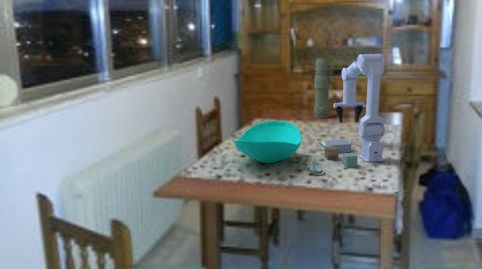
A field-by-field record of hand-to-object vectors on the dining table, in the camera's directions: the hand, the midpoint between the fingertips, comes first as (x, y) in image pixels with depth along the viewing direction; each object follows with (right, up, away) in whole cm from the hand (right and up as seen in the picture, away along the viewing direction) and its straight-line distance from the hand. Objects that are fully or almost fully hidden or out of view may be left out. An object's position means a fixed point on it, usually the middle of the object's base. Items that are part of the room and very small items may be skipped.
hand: (348, 122), depth 248 cm
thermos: (-3, +4, +62) cm, 62 cm away
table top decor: (-39, -17, -25) cm, 49 cm away
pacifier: (-21, -21, -43) cm, 52 cm away
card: (-9, -11, -1) cm, 14 cm away
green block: (-6, -19, -34) cm, 39 cm away
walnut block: (-12, -16, -23) cm, 30 cm away
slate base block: (-7, -13, -10) cm, 18 cm away
